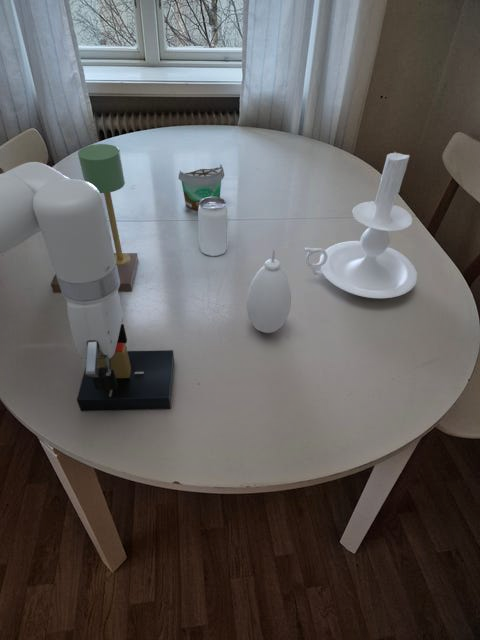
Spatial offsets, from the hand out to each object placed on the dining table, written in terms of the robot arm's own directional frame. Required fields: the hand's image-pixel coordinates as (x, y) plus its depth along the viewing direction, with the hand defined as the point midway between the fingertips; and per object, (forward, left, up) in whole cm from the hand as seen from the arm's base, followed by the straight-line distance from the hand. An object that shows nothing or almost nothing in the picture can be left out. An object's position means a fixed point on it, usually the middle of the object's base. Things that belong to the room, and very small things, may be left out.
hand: (112, 364), depth 68 cm
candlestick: (+47, +28, -6) cm, 55 cm away
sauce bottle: (+26, +13, -6) cm, 30 cm away
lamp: (-4, +30, -1) cm, 30 cm away
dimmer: (+2, 0, -5) cm, 6 cm away
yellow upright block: (0, 0, -2) cm, 2 cm away
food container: (+14, +60, -6) cm, 62 cm away
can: (+16, +40, -6) cm, 43 cm away
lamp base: (-9, +30, -5) cm, 32 cm away
